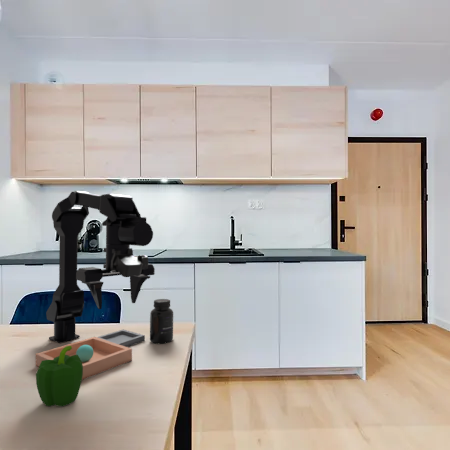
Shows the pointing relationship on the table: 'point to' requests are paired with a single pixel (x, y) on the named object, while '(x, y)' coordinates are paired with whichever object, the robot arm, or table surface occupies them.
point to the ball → (85, 353)
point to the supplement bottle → (161, 322)
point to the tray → (124, 337)
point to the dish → (102, 355)
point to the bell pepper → (59, 379)
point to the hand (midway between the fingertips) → (117, 305)
